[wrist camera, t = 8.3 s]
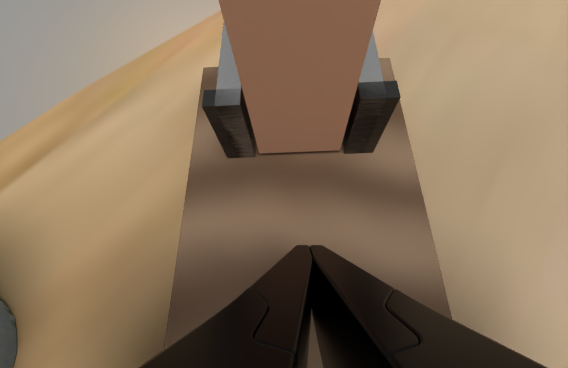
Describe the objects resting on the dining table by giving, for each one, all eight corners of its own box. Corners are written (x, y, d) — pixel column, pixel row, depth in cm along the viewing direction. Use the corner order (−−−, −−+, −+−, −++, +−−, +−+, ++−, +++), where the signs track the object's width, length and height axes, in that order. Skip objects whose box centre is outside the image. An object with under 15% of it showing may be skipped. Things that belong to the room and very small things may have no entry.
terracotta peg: (340, 150, 17) (403, -84, 7) (259, 153, 17) (200, -69, 7) (331, 76, 19) (368, -177, 9) (261, 80, 19) (219, -164, 9)
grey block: (373, 152, 17) (400, 97, 12) (227, 158, 17) (201, 106, 13) (357, 63, 20) (375, -8, 15) (234, 70, 20) (215, 2, 16)
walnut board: (453, 378, 13) (467, 385, 12) (169, 380, 14) (158, 387, 12) (384, 70, 21) (389, 57, 20) (208, 79, 22) (203, 67, 21)
